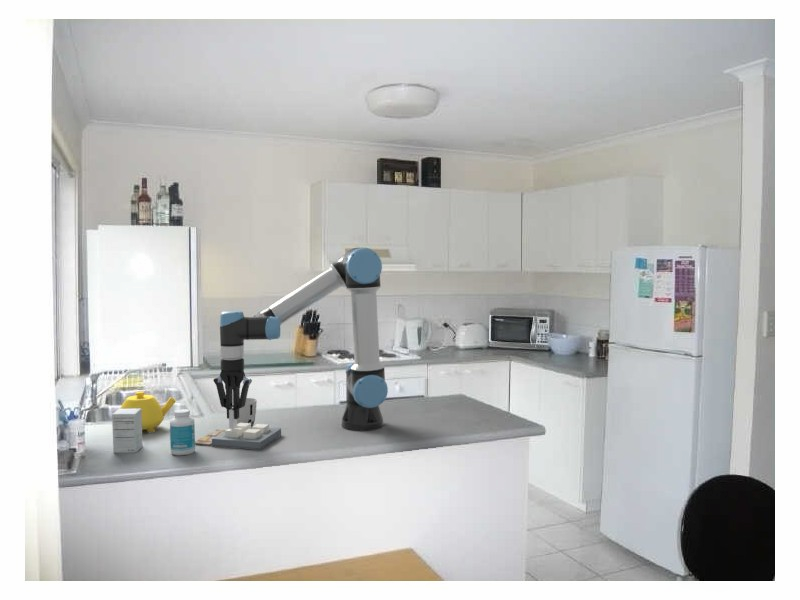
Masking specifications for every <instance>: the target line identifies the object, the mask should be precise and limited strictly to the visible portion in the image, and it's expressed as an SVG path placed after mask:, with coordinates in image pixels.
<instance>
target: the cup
mask: <svg viewBox="0 0 800 600" xmlns="http://www.w3.org/2000/svg"><path fill="white" fill-rule="evenodd" d="M256 414H257V398H253V397H247V398H246V402H245V406H244V407H242V408H240V409H239V418H238V419H237V424H238V423H251V427H253V426H255V421H256Z"/></svg>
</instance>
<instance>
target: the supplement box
mask: <svg viewBox="0 0 800 600" xmlns="http://www.w3.org/2000/svg"><path fill="white" fill-rule="evenodd" d="M111 417H112V418H111V419H112V421H111V422H112V423H111V425H112V447H113V453H114V454H117V453H118V454H119V453H121V454H122V453H123V454H125V453H127V454H128V453H130V454H131V453H137V452H139V450H140V449H141V448H142V447H143V430H142V416H141V409H139V408H134V409H120V408H118V409H117V410H116V411H115V412H113V413H112V414H111Z"/></svg>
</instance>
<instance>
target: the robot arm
mask: <svg viewBox="0 0 800 600" xmlns="http://www.w3.org/2000/svg"><path fill="white" fill-rule="evenodd" d="M382 270H383V263H382V260H381V258H380V256H379V254H378V253H377V252H376V251H374V250H373V249H372V248H368V247H355V248H351V249H349V250H348V251H347V252H345V253H344V254H343V255H342V256H340V258H338V259H337V260H336V261H333V262H332V263H330V266H329V268H328V269H326V270H325V271H324V272H322V273H320V274H319V275H317V276H316V277H313V278H311V280H309V281H307V282H306V283H305V284H303V285H302V286H299V287H298V288H297V289H295V290H293V291H292V292H290V293H289V294H287V295H285V296H284V297H282V298H281V299H279V300H278V301H276V302H275V303H273V304H271V305H269V307H267V308H265V309H264V310H262V311H259V312H257V313H255V315H253V316H250V317H249V316H245V315H244V312H243V311H241V310H225V311H222V312H221V313H220V315H219V316H220V318H219V319H220V320H219V335H220V336H219V337H220V339H219V341H220V342H219V343H220V354H219V355H220V358H221V359H220V374H219V376H217V377H215V378H213V382H214V384H215V386H216V389H217V394H218V399H219V403H220V406H221V408H225V410H226V419H227V420H228V426H229V427H228V429H235V428H237V419H238V418H239V409H240V408H242V407H244V406H245V402H246V398H248V392H249V388H250V385H251V383H252V382H253V379H251V378H248V377H247V376H246V374H245V359H244V356H245V350H244V349H245V347H244V345H245V342H244V341H245V340H246V341H249V340H250V341H251V340H252V341H254V340H257V341H258V340H269V341H271V340H277V339H280V337H281V326H282V324H284V323H285V322H287V321H289V320H290V319H292V318H294V317H296V316H297V315H298V314H300V313H301V312H303V311H305V310H306V309H309V308H310V307H311V306H312V305H315V304H316V303H317V302H319V301H320V300H323V299H324V298H325V297H327V296H328V295H330V294H332V293H333V292H335V291H336V290H338V289H339V288H341V287H343V288H346V290H347V291H348V292H350V296H351V297H350V298H351V314H352V315H351V317H352V337H353V339H352V340H353V358H354V363H352V362H351V363H348V364H347V365H346V370H345V374H346V375H345V377H346V380H345V382H346V384H345V386H346V389H345V390H346V397H345V398H346V399H345V400H346V401H345V402H346V404H345V407H344V411H343V415H342V418H341V427H342V428H344V429H347V430H351V431H372V430H378V429H380V428H382V427H383V426H384V418H383V414H382V411H381V409H380V405H381V404H383V403H384V402H385V401H386V398H387V396H388V392H389V391H388V389H389V387H388V383H387V382H386V378H385V377H386V376H385V365H384V364H383V363H382V362H381V359H380V342H379V321H378V301H377V300H378V299H377V292H378V291H379V290H380V288H381V274H382ZM241 383H242V386H241ZM240 389H241V390H240Z"/></svg>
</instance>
